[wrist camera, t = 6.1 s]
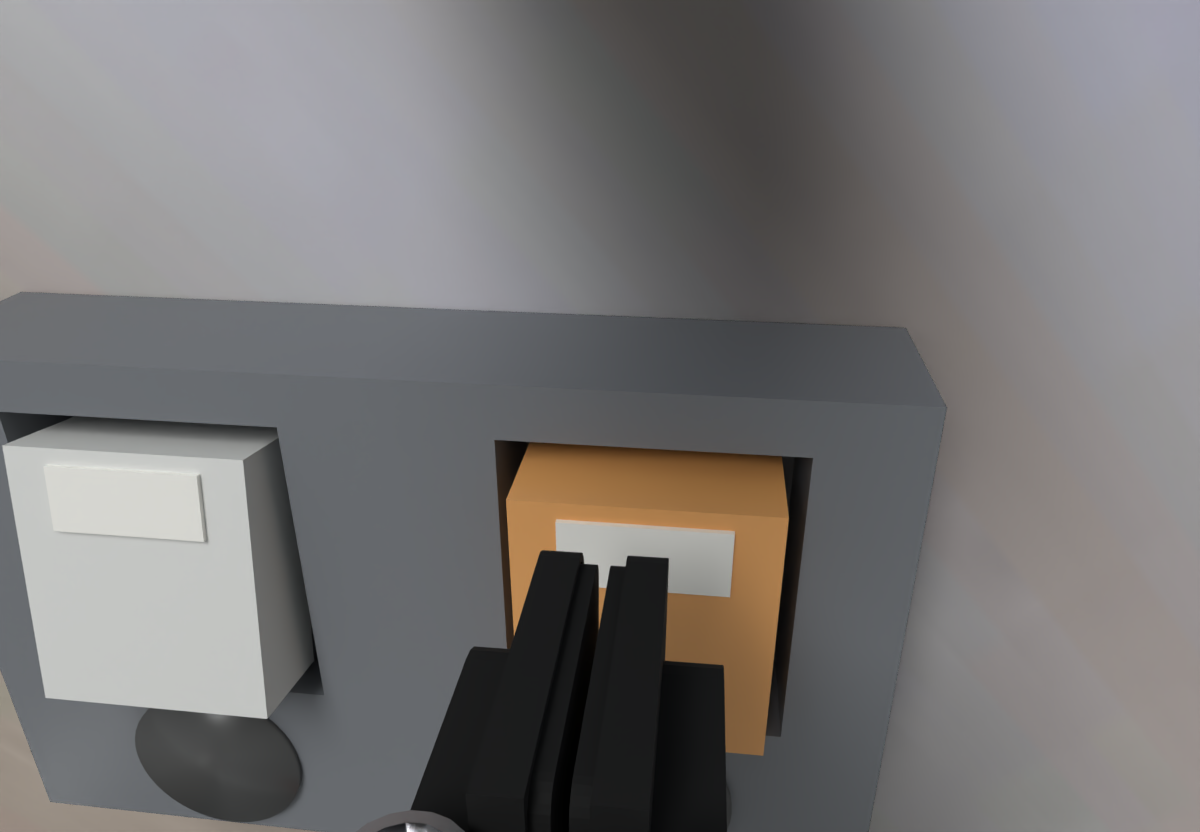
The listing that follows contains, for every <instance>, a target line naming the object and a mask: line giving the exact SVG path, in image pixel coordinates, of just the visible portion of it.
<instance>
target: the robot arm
mask: <svg viewBox="0 0 1200 832" xmlns="http://www.w3.org/2000/svg"><path fill="white" fill-rule="evenodd" d="M668 573H669V558H660V557H644V556H627V561H626V566H610V570H609V576H608V581H607V587H606V593H605V598H604V604H603V610H602V615H601V621H600V627H599V568H598V565H595V564H584V556H583V553H581V552H565V551H549V550H542V551H541V552H540V554H539V557H538V560H537V563H536V566H535V570H534V573H533V576H532V579H531V583H530V586H529V589H528V592H527V596H526V599H525V602H524V605H523V609H522V612H521V615H520V618H519V622H518V625H517V628H516V631H515V635H514V638H513V641H512V645H511V648H510V649H503V648H490V647H476V646H474V647H473V648H472V649H471V650H470V651H469V654H468V656H467V658H466V660H465V663H464V666H463V668H462V671H461V674H460V677H459V679H458V682H457V685H456V687H455V690H454V693H453V696H452V698H451V701H450V704H449V706H448V709H447V712H446V715H445V717H444V720H443V723H442V725H441V728H440V731H439V733H438V736H437V739H436V742H435V744H434V747H433V750H432V752H431V755H430V758H429V761H428V763H427V766H426V769H425V771H424V774H423V777H422V780H421V782H420V785H419V788H418V790H417V793H416V796H415V799H414V801H413V804H412V807H411V809H410V810H409V811H403V812H397V813H391V814H387V815H385V816H383V817H380V818H378V819H376V820H373V821H371V822H369V823H367V824H366V825H364V826H363V827H361V828H360V829H359V830H357V831H356V832H727V802H726V745H725V688H724V666H723V665H716V664H703V663H690V662H676V661H665V650H666V624H667V598H668Z"/></svg>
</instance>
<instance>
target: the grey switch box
mask: <svg viewBox="0 0 1200 832" xmlns="http://www.w3.org/2000/svg"><path fill="white" fill-rule="evenodd" d="M946 409H947V407H946V405H945V403H944V401H943V399H942V397H941V395H940V393H939V391H938V390H937V388H936V386H935V384H934V382H933V380H932V378H931V376H930V374H929V372H928V370H927V368H926V366H925V364H924V362H923V360H922V359H921V357H920V355H919V353H918V351H917V349H916V347H915V345H914V343H913V341H912V339H911V337H910V335H909V333H908V331H907V329H906V328H895V327H870V326H846V325H821V324H796V323H772V322H747V321H722V320H698V319H673V318H648V317H623V316H599V315H574V314H549V313H525V312H500V311H475V310H451V309H426V308H401V307H377V306H352V305H327V304H302V303H278V302H253V301H228V300H204V299H179V298H154V297H130V296H105V295H80V294H55V293H31V292H20V293H18V294H16V295H13V296H11V297H9V298H7V299H4V300H2V301H0V670H1V673H2V675H3V678H4V681H5V683H6V686H7V689H8V691H9V694H10V696H11V699H12V702H13V704H14V707H15V710H16V712H17V715H18V718H19V720H20V723H21V726H22V728H23V731H24V734H25V736H26V739H27V741H28V744H29V747H30V749H31V752H32V755H33V757H34V760H35V763H36V765H37V768H38V771H39V773H40V776H41V779H42V781H43V784H44V786H45V789H46V792H47V794H48V797H49V800H50V802H56V803H65V804H74V805H83V806H92V807H101V808H111V809H120V810H129V811H138V812H147V813H156V814H166V815H175V816H184V817H193V818H202V819H211V820H221V821H230V822H239V823H248V824H257V825H266V826H276V827H285V828H294V829H303V830H312V831H321V832H356V831H357V830H359V829H360V828H361V827H363V826H364V825H366V824H367V823H369V822H371V821H373V820H376V819H378V818H380V817H383V816H385V815H387V814H391V813H397V812H403V811H409V810H410V809H411V807H412V804H413V801H414V799H415V796H416V793H417V790H418V788H419V785H420V782H421V780H422V777H423V774H424V771H425V769H426V766H427V763H428V761H429V758H430V755H431V752H432V750H433V747H434V744H435V742H436V739H437V736H438V733H439V731H440V728H441V725H442V723H443V720H444V717H445V715H446V712H447V709H448V706H449V704H450V701H451V698H452V696H453V693H454V690H455V687H456V685H457V682H458V679H459V677H460V674H461V671H462V668H463V666H464V663H465V660H466V658H467V656H468V654H469V651H470V650H471V649H472V648H473V647H474V646H476V647H490V648H503V649H510V648H511V645H512V641H513V638H514V628H513V610H512V593H511V576H510V559H509V542H508V525H507V508H506V499H507V496H508V494H509V491H510V489H511V487H512V484H513V482H514V479H515V477H516V474H517V472H518V469H519V467H520V465H521V462H522V460H523V457H524V455H525V452H526V450H527V448H528V445H529V443H530V442H541V443H558V444H576V445H593V446H611V447H629V448H646V449H664V450H681V451H699V452H717V453H734V454H752V455H769V456H782V462H783V470H784V479H785V488H786V497H787V506H788V514H789V522H788V531H787V541H786V550H785V559H784V569H783V578H782V587H781V596H780V606H779V615H778V624H777V633H776V643H775V652H774V661H773V671H772V680H771V689H770V698H769V708H768V717H767V726H766V736H765V745H764V754H763V756H761V755H750V754H739V753H729V752H726V802H727V832H869V826H870V821H871V815H872V810H873V804H874V799H875V794H876V788H877V783H878V777H879V772H880V767H881V761H882V756H883V750H884V745H885V740H886V734H887V729H888V723H889V718H890V712H891V707H892V702H893V696H894V691H895V685H896V680H897V675H898V669H899V664H900V658H901V653H902V647H903V642H904V637H905V631H906V626H907V620H908V615H909V610H910V604H911V599H912V593H913V588H914V583H915V577H916V572H917V566H918V561H919V555H920V550H921V545H922V539H923V534H924V528H925V523H926V518H927V512H928V507H929V501H930V496H931V490H932V485H933V480H934V474H935V469H936V463H937V458H938V453H939V447H940V442H941V436H942V431H943V426H944V420H945V415H946ZM74 416H83V417H101V418H119V419H136V420H154V421H171V422H189V423H207V424H224V425H242V426H259V427H277V432H278V437H279V443H280V449H281V454H282V460H283V465H284V471H285V477H286V482H287V488H288V494H289V499H290V505H291V510H292V516H293V522H294V527H295V533H296V539H297V544H298V550H299V556H300V561H301V567H302V572H303V578H304V584H305V589H306V595H307V601H308V606H309V612H310V617H311V630H312V643H313V656H314V661H313V663H312V664H311V665H310V666H309V668H308V669H307V670H306V671H305V673H304V674H303V675H302V676H301V678H300V679H299V680H298V681H297V683H296V684H295V685H294V686H293V688H292V689H291V690H290V691H289V693H288V694H287V695H286V696H285V698H284V699H283V700H282V701H281V703H280V704H279V705H278V706H277V708H276V709H275V710H274V711H273V713H272V714H271V715H270V716H269V718H268V719H262V718H252V717H241V716H231V715H220V714H210V713H199V712H189V711H178V710H168V709H157V708H147V707H136V706H126V705H115V704H105V703H94V702H84V701H73V700H63V699H52V698H45V692H44V686H43V680H42V674H41V669H40V663H39V657H38V651H37V645H36V640H35V634H34V628H33V622H32V616H31V610H30V605H29V599H28V593H27V587H26V581H25V575H24V570H23V564H22V558H21V552H20V546H19V541H18V535H17V529H16V523H15V517H14V511H13V506H12V500H11V494H10V488H9V482H8V476H7V471H6V465H5V459H4V453H3V447H2V445H5V444H7V443H10V442H12V441H15V440H17V439H20V438H22V437H25V436H27V435H30V434H32V433H35V432H37V431H40V430H42V429H45V428H47V427H50V426H52V425H55V424H57V423H60V422H62V421H65V420H67V419H70V418H72V417H74Z"/></svg>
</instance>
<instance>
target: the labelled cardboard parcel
mask: <svg viewBox="0 0 1200 832" xmlns="http://www.w3.org/2000/svg"><path fill="white" fill-rule="evenodd" d="M506 508H507V525H508V542H509V559H510V576H511V593H512V610H513V628H514V635H515V631H516V628H517V625H518V622H519V618H520V615H521V612H522V609H523V605H524V602H525V599H526V596H527V592H528V589H529V586H530V583H531V579H532V576H533V573H534V570H535V566H536V563H537V560H538V557H539V554H540V552H541V551H542V550H549V551H565V552H581V553H583V556H584V564H595V565H598V568H599V627H600V621H601V615H602V610H603V604H604V598H605V593H606V587H607V581H608V576H609V570H610V566H626V561H627V556H644V557H660V558H669V573H668V598H667V624H666V650H665V661H676V662H690V663H703V664H716V665H723V666H724V688H725V745H726V752H729V753H739V754H750V755H761V756H763V754H764V745H765V736H766V726H767V717H768V708H769V698H770V689H771V680H772V671H773V661H774V652H775V643H776V633H777V624H778V615H779V606H780V596H781V587H782V578H783V569H784V559H785V550H786V541H787V531H788V522H789V514H788V506H787V497H786V488H785V479H784V470H783V462H782V456H769V455H752V454H734V453H717V452H699V451H681V450H664V449H646V448H629V447H611V446H593V445H576V444H558V443H541V442H530V443H529V445H528V448H527V450H526V452H525V455H524V457H523V460H522V462H521V465H520V467H519V469H518V472H517V474H516V477H515V479H514V482H513V484H512V487H511V489H510V491H509V494H508V496H507V499H506Z"/></svg>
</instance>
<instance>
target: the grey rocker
mask: <svg viewBox="0 0 1200 832" xmlns="http://www.w3.org/2000/svg"><path fill="white" fill-rule="evenodd" d="M2 447H3V453H4V459H5V465H6V471H7V476H8V482H9V488H10V494H11V500H12V506H13V511H14V517H15V523H16V529H17V535H18V541H19V546H20V552H21V558H22V564H23V570H24V575H25V581H26V587H27V593H28V599H29V605H30V610H31V616H32V622H33V628H34V634H35V640H36V645H37V651H38V657H39V663H40V669H41V674H42V680H43V686H44V692H45V698H52V699H63V700H73V701H84V702H94V703H105V704H115V705H126V706H136V707H147V708H157V709H168V710H178V711H189V712H199V713H210V714H220V715H231V716H241V717H252V718H262V719H268V718H269V716H270V715H271V714H272V713H273V711H274V710H275V709H276V708H277V706H278V705H279V704H280V703H281V701H282V700H283V699H284V698H285V696H286V695H287V694H288V693H289V691H290V690H291V689H292V688H293V686H294V685H295V684H296V683H297V681H298V680H299V679H300V678H301V676H302V675H303V674H304V673H305V671H306V670H307V669H308V668H309V666H310V665H311V664H312V663H313V661H314V656H313V643H312V630H311V617H310V612H309V606H308V601H307V595H306V589H305V584H304V578H303V572H302V567H301V561H300V556H299V550H298V544H297V539H296V533H295V527H294V522H293V516H292V510H291V505H290V499H289V494H288V488H287V482H286V477H285V471H284V465H283V460H282V454H281V449H280V443H279V437H278V432H277V427H259V426H242V425H224V424H207V423H189V422H171V421H154V420H136V419H119V418H101V417H83V416H74V417H72V418H70V419H67V420H65V421H62V422H60V423H57V424H55V425H52V426H50V427H47V428H45V429H42V430H40V431H37V432H35V433H32V434H30V435H27V436H25V437H22V438H20V439H17V440H15V441H12V442H10V443H7V444H5V445H2Z"/></svg>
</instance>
